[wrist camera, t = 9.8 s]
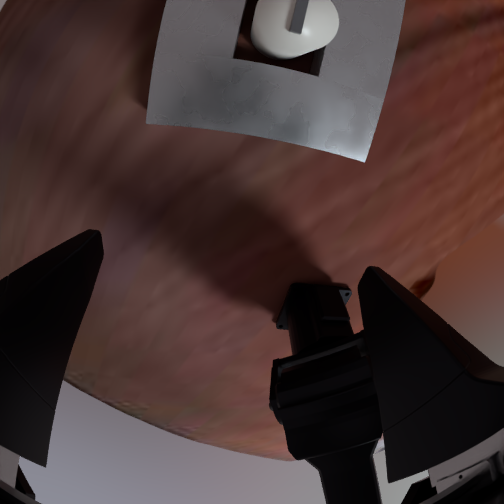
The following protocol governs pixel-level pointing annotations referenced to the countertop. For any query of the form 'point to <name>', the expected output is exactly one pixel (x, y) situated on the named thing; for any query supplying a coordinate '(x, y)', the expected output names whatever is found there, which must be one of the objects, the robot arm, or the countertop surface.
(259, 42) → the knob
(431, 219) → the countertop surface
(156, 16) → the countertop surface
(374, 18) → the plate
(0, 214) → the countertop surface
